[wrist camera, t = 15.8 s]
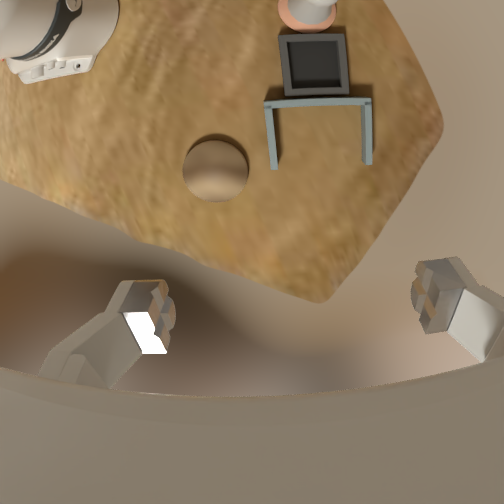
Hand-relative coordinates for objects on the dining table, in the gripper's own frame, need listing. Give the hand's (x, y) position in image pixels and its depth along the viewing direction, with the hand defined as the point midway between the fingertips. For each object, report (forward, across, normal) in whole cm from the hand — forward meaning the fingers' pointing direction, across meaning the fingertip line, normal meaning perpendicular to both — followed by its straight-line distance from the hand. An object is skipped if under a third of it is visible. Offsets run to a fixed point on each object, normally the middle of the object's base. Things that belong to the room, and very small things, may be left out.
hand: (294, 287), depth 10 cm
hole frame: (+38, -6, -6) cm, 40 cm away
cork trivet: (+39, +10, +9) cm, 41 cm away
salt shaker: (+38, -6, -15) cm, 42 cm away
